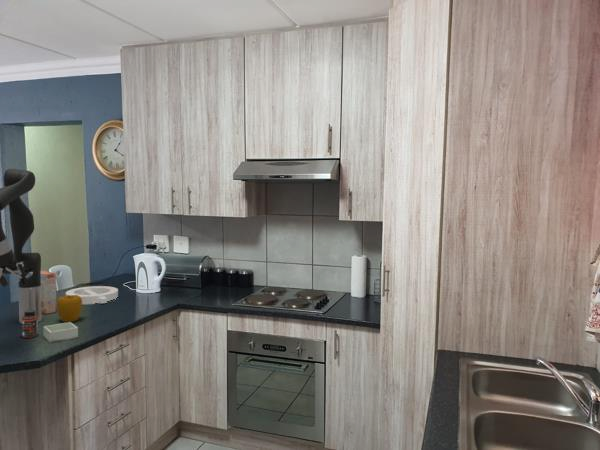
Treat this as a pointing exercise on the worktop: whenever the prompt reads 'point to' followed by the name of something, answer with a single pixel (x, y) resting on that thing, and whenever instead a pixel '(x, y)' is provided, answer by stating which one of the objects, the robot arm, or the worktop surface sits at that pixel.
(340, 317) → the worktop surface
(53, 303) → the cracker box
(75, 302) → the apple
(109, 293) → the white circle with bar
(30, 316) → the supplement bottle
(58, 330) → the box
